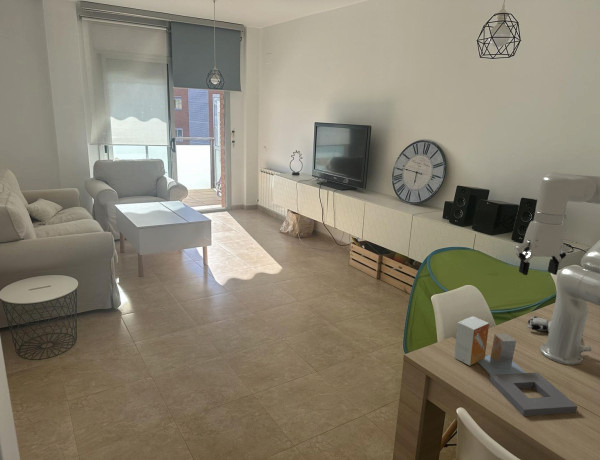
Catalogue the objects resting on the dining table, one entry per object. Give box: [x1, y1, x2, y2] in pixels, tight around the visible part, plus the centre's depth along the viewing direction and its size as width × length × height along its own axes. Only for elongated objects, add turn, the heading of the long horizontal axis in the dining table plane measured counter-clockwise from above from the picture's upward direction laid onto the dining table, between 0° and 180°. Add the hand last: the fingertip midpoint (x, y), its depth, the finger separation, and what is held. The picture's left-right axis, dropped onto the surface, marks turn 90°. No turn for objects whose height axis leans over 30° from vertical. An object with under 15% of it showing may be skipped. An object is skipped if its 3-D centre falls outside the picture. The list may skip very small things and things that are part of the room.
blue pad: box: [477, 354, 527, 376], centre depth 139 cm, size 12×12×1 cm
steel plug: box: [490, 333, 517, 370], centre depth 138 cm, size 4×4×10 cm
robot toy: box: [526, 315, 551, 333], centre depth 164 cm, size 12×4×15 cm
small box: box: [453, 315, 490, 366], centre depth 141 cm, size 8×6×13 cm
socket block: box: [488, 372, 578, 417], centre depth 124 cm, size 16×16×2 cm
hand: (537, 273), depth 131 cm, fingers open, 9 cm apart
